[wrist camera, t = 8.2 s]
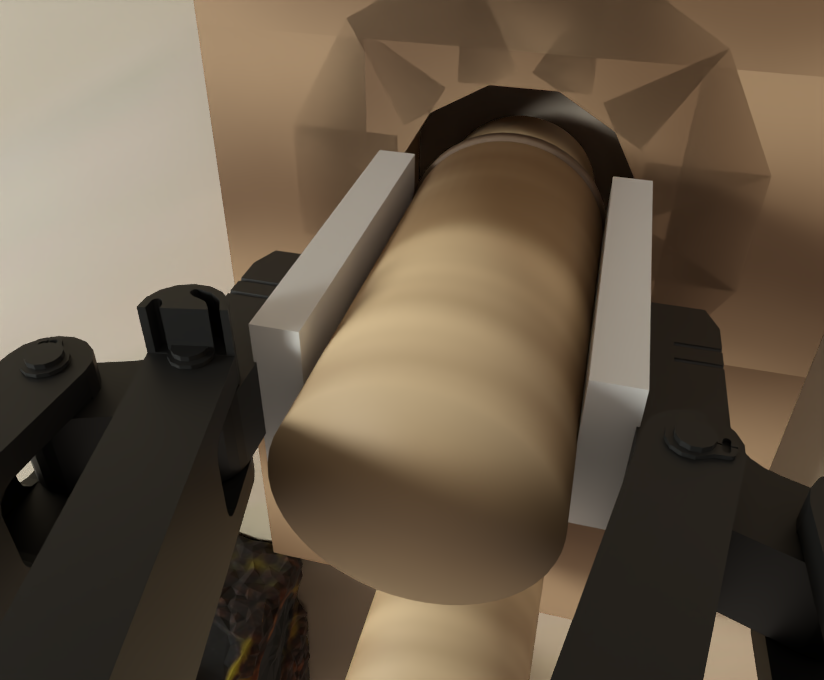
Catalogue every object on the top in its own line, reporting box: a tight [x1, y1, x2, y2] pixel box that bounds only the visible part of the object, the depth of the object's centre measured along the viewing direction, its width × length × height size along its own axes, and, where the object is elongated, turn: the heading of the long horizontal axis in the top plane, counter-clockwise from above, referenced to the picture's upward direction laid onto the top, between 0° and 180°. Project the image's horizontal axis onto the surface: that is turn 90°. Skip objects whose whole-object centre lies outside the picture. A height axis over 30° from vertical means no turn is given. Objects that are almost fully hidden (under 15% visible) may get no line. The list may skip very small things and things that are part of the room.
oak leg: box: [267, 116, 606, 605], centre depth 14 cm, size 4×4×10 cm
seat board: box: [194, 0, 824, 680], centre depth 16 cm, size 22×14×10 cm, turn 179°
